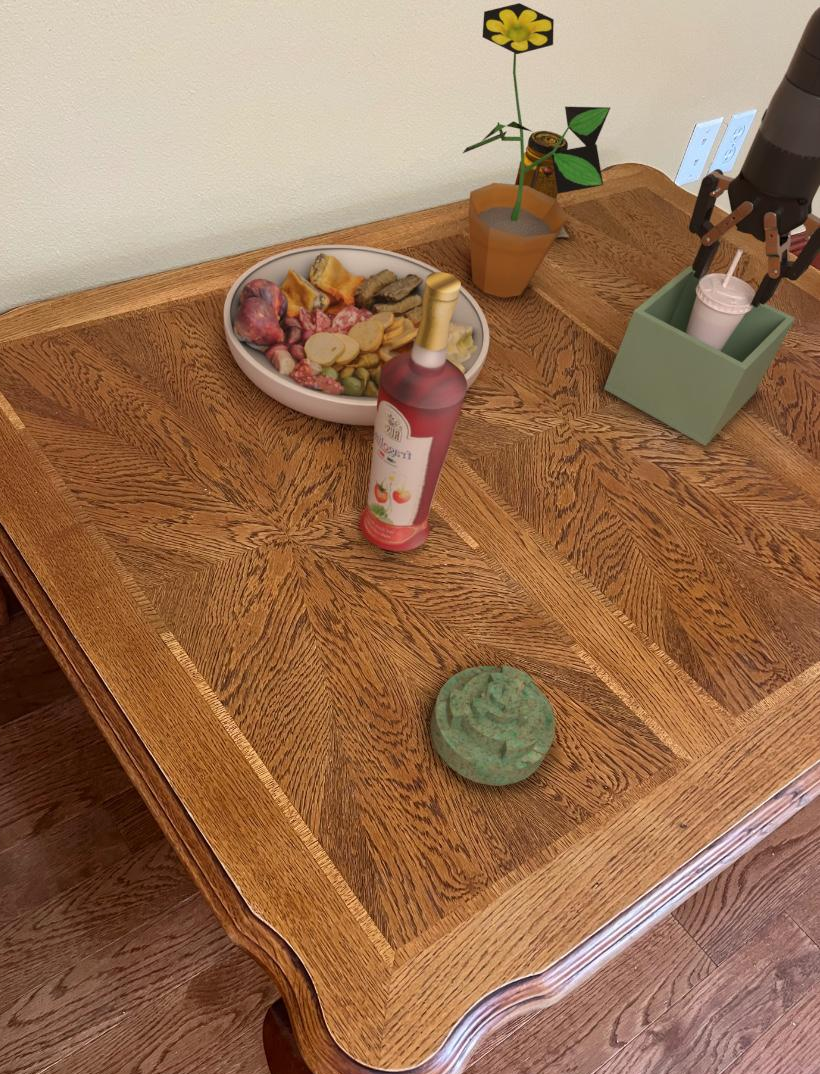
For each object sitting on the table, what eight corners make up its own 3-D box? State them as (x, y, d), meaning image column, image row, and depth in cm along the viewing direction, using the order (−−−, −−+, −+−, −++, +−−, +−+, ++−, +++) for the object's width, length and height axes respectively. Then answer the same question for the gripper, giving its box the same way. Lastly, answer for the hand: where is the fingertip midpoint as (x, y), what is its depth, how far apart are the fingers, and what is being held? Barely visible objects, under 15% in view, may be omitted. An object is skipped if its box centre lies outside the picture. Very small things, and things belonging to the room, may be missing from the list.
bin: (656, 342, 118) (689, 265, 110) (754, 394, 114) (795, 317, 105) (603, 389, 111) (633, 310, 102) (705, 446, 106) (745, 369, 98)
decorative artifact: (457, 799, 75) (567, 768, 78) (475, 756, 70) (592, 724, 72) (412, 697, 81) (516, 672, 84) (426, 649, 75) (536, 624, 78)
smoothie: (686, 338, 112) (735, 229, 101) (731, 366, 109) (786, 257, 99) (656, 358, 109) (703, 248, 98) (702, 387, 106) (755, 277, 95)
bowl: (428, 271, 122) (438, 214, 116) (521, 422, 105) (539, 365, 99) (199, 290, 114) (197, 230, 108) (260, 458, 97) (262, 398, 91)
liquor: (444, 538, 93) (510, 289, 71) (393, 573, 89) (445, 323, 67) (392, 496, 96) (441, 244, 74) (340, 529, 92) (374, 274, 70)
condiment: (498, 210, 134) (518, 125, 125) (554, 211, 136) (578, 127, 127) (511, 238, 130) (532, 152, 121) (568, 239, 131) (594, 154, 122)
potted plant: (400, 271, 122) (441, 15, 98) (497, 230, 131) (554, -13, 107) (501, 341, 114) (570, 84, 91) (595, 293, 124) (680, 48, 100)
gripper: (885, 152, 88) (801, 305, 101) (748, 94, 93) (684, 248, 106) (857, 177, 84) (774, 333, 97) (715, 116, 89) (653, 273, 102)
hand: (727, 288), depth 102 cm, fingers closed on smoothie, 6 cm apart
